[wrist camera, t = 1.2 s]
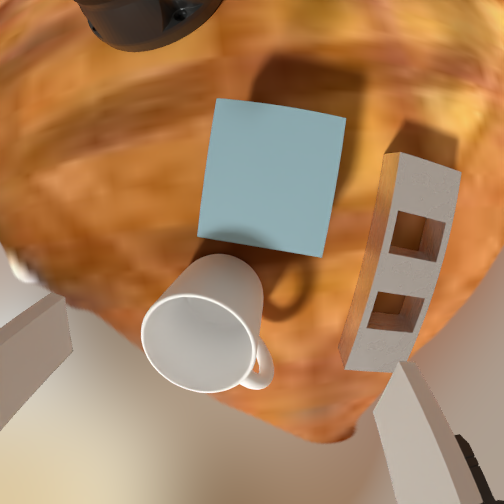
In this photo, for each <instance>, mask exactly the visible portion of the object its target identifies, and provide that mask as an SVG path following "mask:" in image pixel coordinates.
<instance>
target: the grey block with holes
mask: <svg viewBox="0 0 504 504" xmlns="http://www.w3.org/2000/svg"><path fill="white" fill-rule="evenodd" d="M460 178H461V172H459V171H456V170H454V169H451V168H448V167H445V166H443V165H440V164H437V163H434V162H431V161H428V160H425V159H422V158H419V157H415V156H412V155H409V154H406V153H402V152H396V153H388V154H384V158H383V164H382V170H381V177H380V182H379V188H378V194H377V199H376V204H375V209H374V214H373V219H372V224H371V229H370V233H369V238H368V242H367V246H366V251H365V255H364V259H363V263H362V267H361V271H360V275H359V278H358V282H357V286H356V290H355V293H354V297H353V300H352V304H351V307H350V311H349V314H348V317H347V321H346V324H345V327H344V330H343V334H342V337H341V340H340V343H339V346H338V349H339V353H340V356H341V359H342V363H343V366H344V369H346V370H358V371H373V372H391V373H393V372H394V370H395V368H396V366H397V364H398V362H399V361H407V360H408V357H409V355H410V353H411V350H412V348H413V346H414V343H415V341H416V338H417V336H418V333H419V331H420V328H421V326H422V323H423V320H424V318H425V315H426V312H427V310H428V307H429V304H430V301H431V298H432V295H433V292H434V289H435V286H436V283H437V279H438V276H439V273H440V269H441V266H442V262H443V259H444V255H445V251H446V247H447V243H448V239H449V235H450V231H451V227H452V222H453V217H454V213H455V207H456V202H457V197H458V191H459V185H460ZM398 211H402V212H406V213H410V214H414V215H418V216H422V217H426V220H425V225H424V229H423V234H422V238H421V242H420V246H419V250H418V251H416V250H411V249H406V248H401V247H396V246H391V245H390V244H391V240H392V236H393V232H394V227H395V223H396V218H397V213H398ZM378 291H379V292H386V293H392V294H399V295H405V298H404V301H403V304H402V307H401V310H400V313H399V315H398V314H389V313H382V312H374V311H372V309H373V306H374V303H375V299H376V296H377V293H378Z"/></svg>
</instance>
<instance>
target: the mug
mask: <svg viewBox="0 0 504 504" xmlns="http://www.w3.org/2000/svg"><path fill="white" fill-rule="evenodd" d="M263 299H264V296H263V288H262V284H261V282H260V279H259V277H258V276H257V274H256V273H255V271H254V270H253V269H252V268H251V267H250V266H249V265H248V264H247V263H245V262H244V261H242V260H241V259H239V258H237V257H234V256H231V255H226V254H211V255H207V256H204V257H202V258H200V259H198V260H196V261H195V262H193V263H192V264H191V265H190V266H189V267H188V268H186V269H185V271H184V272H183V273H182V274H181V275H180V276H179V277H178V278H177V279H176V280H175V281H174V282H173V283H172V285H171V286H170V287H169V288H168V289H167V290H166V291H165V292H164V293H163V294H162V295H161V297H160V298H159V299H158V300H157V301H156V302H155V303H154V304H153V305H152V306H151V308H150V309H149V310H148V312H147V313H146V315H145V317H144V319H143V323H142V328H141V340H142V345H143V348H144V351H145V354H146V356H147V358H148V359H149V361H150V362H151V364H152V365H153V367H154V368H155V369H156V370H157V371H158V372H159V373H160V374H161V375H162V376H163V377H165V378H166V379H168V380H169V381H170V382H172V383H174V384H176V385H178V386H180V387H182V388H185V389H188V390H191V391H195V392H202V393H215V392H221V391H225V390H228V389H231V388H233V387H235V386H237V385H238V384H241V385H243V386H245V387H247V388H250V389H257V390H259V389H263V388H265V387H267V386H268V385H269V384H270V383H271V381H272V379H273V376H274V366H273V361H272V357H271V355H270V352H269V350H268V348H267V346H266V345H265V343H264V342H263V340H262V339H261V338H260V336H259V333H260V325H261V318H262V310H263ZM256 358H257V360H258V363H259V373H256V372H254V371H253V370H252V369H253V367H254V364H255V360H256Z"/></svg>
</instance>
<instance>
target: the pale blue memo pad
mask: <svg viewBox="0 0 504 504" xmlns="http://www.w3.org/2000/svg"><path fill="white" fill-rule="evenodd" d="M345 124H346V118H343V117H339V116H334V115H329V114H325V113H320V112H315V111H309V110H304V109H298V108H292V107H286V106H280V105H273V104H266V103H258V102H250V101H241V100H231V99H220V98H217V100H216V105H215V111H214V117H213V123H212V130H211V136H210V142H209V149H208V156H207V163H206V170H205V177H204V185H203V192H202V200H201V208H200V217H199V225H198V234H197V237H202V238H208V239H214V240H220V241H226V242H232V243H238V244H244V245H250V246H256V247H262V248H268V249H274V250H280V251H286V252H292V253H298V254H303V255H309V256H315V257H321V258H322V255H323V250H324V245H325V240H326V236H327V231H328V226H329V221H330V215H331V210H332V205H333V199H334V194H335V188H336V182H337V177H338V171H339V164H340V158H341V152H342V145H343V138H344V131H345Z"/></svg>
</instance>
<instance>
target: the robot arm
mask: <svg viewBox="0 0 504 504" xmlns="http://www.w3.org/2000/svg"><path fill="white" fill-rule="evenodd" d="M74 1H75V2H77V3H78V4H79V6H80V8H81V10H82V12H83V14H84V15H85V16H86V18H87V19H88V23H89V26H90V28H91V30H92V31H93V33H94V34H95V35H96V36H97V37H98V38H99V39H100V40H102V41H103V42H105V43H107V44H108V45H110V46H111V47H113V48H115V49H118V50H122V51H127V52H141V51H148V50H153V49H157V48H160V47H163V46H166V45H169V44H171V43H173V42H176V41H178V40H179V39H181V38H183V37H185V36H187V35H188V34H190V33H191V32H193V31H194V30H196V29H197V28H198V27H199V26H201V25H202V24H203V23H204V22H205V21H206V20H207V19H208V18H209V17H210V16H211V15H212V14H213V13H214V11H215V10H216V9H217V7H218V6H219V4H220V2H221V0H74ZM72 352H73V348H72V343H71V337H70V331H69V324H68V319H67V311H66V303H65V297H64V296H61V295H58V294H55V293H50V294H49V295H47V296H46V297H44V298H43V299H41V300H40V301H38V302H37V303H35V304H34V305H32V306H31V307H30V308H28V309H27V310H25V311H24V312H22V313H21V314H19V315H18V316H17V317H15V318H14V319H12V320H11V321H10V322H9V323H7V324H6V325H4V326H3V327H2V328H0V431H1V430H2V429H3V427H4V426H5V425H6V424H7V423H8V422H9V420H10V419H11V418H12V417H13V416H14V415H15V414H16V412H17V411H18V410H19V409H20V408H21V407H22V406H23V404H24V403H25V402H26V401H27V400H28V399H29V398H30V397H31V396H32V395H33V394H34V392H35V391H36V390H37V389H38V388H39V387H40V386H41V385H42V384H43V383H44V382H45V380H46V379H47V378H48V377H49V376H50V375H51V374H52V373H53V372H54V371H55V370H56V369H57V368H58V367H59V365H61V364H62V362H64V361H65V359H66V358H67V357H68V356H69V355H70V354H71V353H72ZM373 414H374V418H375V421H376V424H377V428H378V431H379V435H380V439H381V442H382V446H383V450H384V453H385V457H386V461H387V465H388V469H389V472H390V477H391V481H392V484H393V489H394V493H395V497H396V502H397V504H504V501H501V500H497V501H495V499H494V497H493V496H492V493H491V491H490V488H489V486H488V484H487V481H486V479H485V477H484V475H483V472H482V470H481V468H480V466H478V461H477V459H476V458H474V453H473V451H472V449H471V447H470V445H469V443H468V442H467V441H466V440H465V439H464V438H463V437H462V436H461V435H460V434H459V435H454V434H453V432H452V430H451V428H450V426H449V424H448V422H447V420H446V418H445V416H444V414H443V412H442V410H441V408H440V406H439V405H438V402H437V401H436V399H435V397H434V395H433V393H432V391H431V390H430V388H429V386H428V384H427V382H426V380H425V379H424V377H423V375H422V373H421V371H420V370H419V368H418V366H417V365H416V363H415V362H407V361H399V362H398V364H397V366H396V368H395V370H394V372H393V374H392V376H391V378H390V380H389V382H388V384H387V386H386V388H385V390H384V392H383V394H382V396H381V398H380V400H379V401H378V403H377V405H376V407H375V409H374V411H373Z"/></svg>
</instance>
